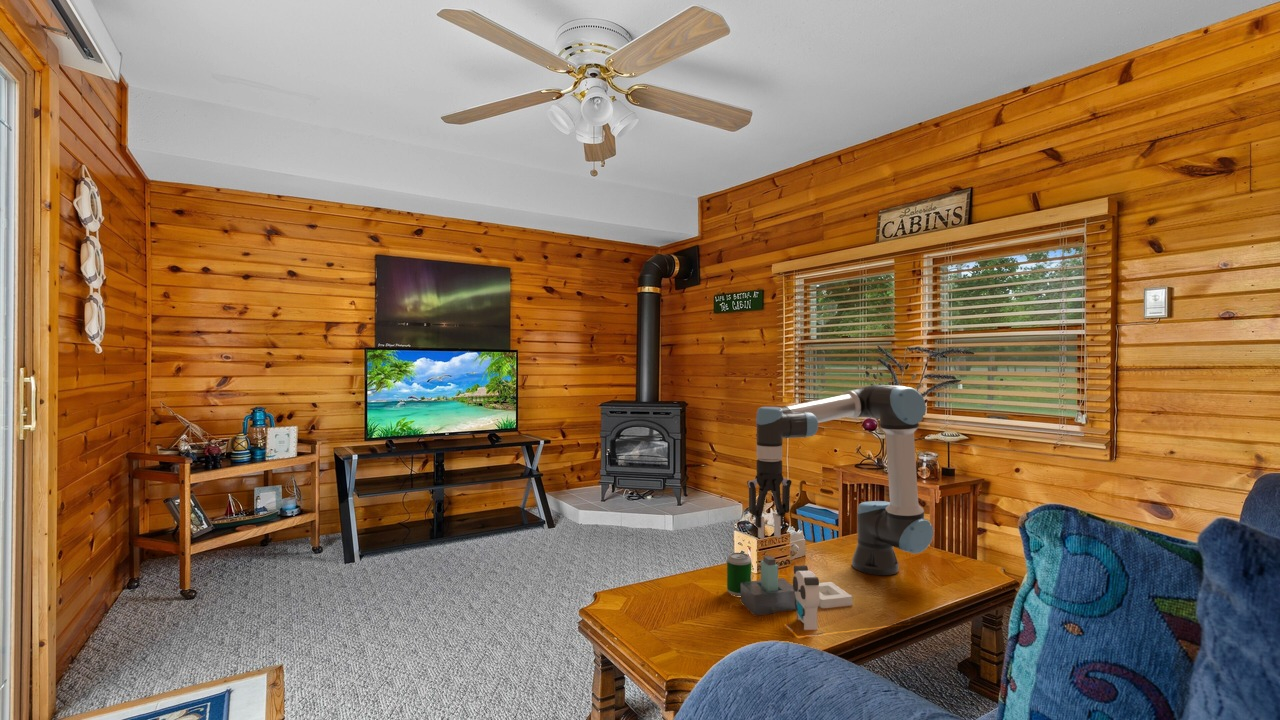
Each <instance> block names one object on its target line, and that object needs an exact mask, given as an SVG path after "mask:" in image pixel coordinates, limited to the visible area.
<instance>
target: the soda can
mask: <svg viewBox="0 0 1280 720" xmlns="http://www.w3.org/2000/svg"><path fill="white" fill-rule="evenodd" d="M748 581H752V558H751V557H750V556H749V555H748V553H743V552H733V553H730V554H729V556H728V557H726V590H727V592H728V594H729V595H730V594H732V595H735V596H741V582H748ZM732 595H731V596H732Z"/></svg>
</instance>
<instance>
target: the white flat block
mask: <svg viewBox="0 0 1280 720" xmlns="http://www.w3.org/2000/svg"><path fill="white" fill-rule="evenodd" d="M853 598H854V597H853V595H851V594H850V593H848V592H846V591H845V590H844V589H843V588H841V587H839V586H838V585H836V584H835V583H834V582H832V581H828V582H827V581H826V582H819V606H818V607H820V608H821V609H830V608H831V609H832V608H839V607H840V608H841V607H848V606H853V605H854V604H853V603H854V601H853Z"/></svg>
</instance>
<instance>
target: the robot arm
mask: <svg viewBox="0 0 1280 720" xmlns="http://www.w3.org/2000/svg"><path fill="white" fill-rule="evenodd" d="M924 398H925V397H923V395H922V394H921V392H919V391H918V390H917V389H915V388H913V387H911V386H910V387H909V386H904V385H890V384H887V385H886V384H872V385H871V384H870V385H868V386H867V385H866V386H862V387H858V388H854V389H850V390H846V391H844V392H843V393H842V394H839V395H834V396H831V397H826V398H820V399H814V400H810V401H805V402H800V403H795V404H790V405H786V406H781V407H779V406H761V407H759V408H757V411H756V416H755V417H756V418H755V424H756V458H757V460H756V475H755V478H754V479H752V480H747V481H746V485H747V488H748V512H749V514H751V515H752V516H754V517H755V519H754V520H755V522H754V523H755V527H756V528H757V538H759V539H760V540H765V516H763V512H764V507H765V503H766V498H767V495H768V492H770V491H771V494H772V497H773V501H774V507H775V511H776V513H774V514H773V515H774V517H773V521H774V522H773V527H774V528H773V532H774V533H773V534H774V535H773V536H774V537H776V538H777V539H781V538H782V536H781V535H782V533H781V529H782V528H781V527H784V517H785V516H786V514H789V513H790V510H791V509H790V504H791V503H790V502H791V501H790V499H791V498H790V497H791V496H790V495H791V494H790V493H791V492H790V491H791V490H790V489H791V486H792V483H793V482H792V480H791V479H790V478H789V479H788V478H784V476H783V460H782V459H783V441H784V440H783V439H795V438H798V439H799V438H808V437H813V436H815V435H816V434H817V432H818V429H819V423H825V422H829V421H834V420H839V419H843V418H849V419H857V418H868V419H876V420H879V428H880V429H881V430H882V431H883V432H884V433H885V446H886V461H887V477H888V491H889V492H888V493H889V501H884V500H883V501H882V500H873V501H872V500H871V501H864V502H861V503H859V504H858V507H857V513H856V519H857V520H856V521H857V523H856V524H857V545H856V547H855V551H854V553H853V556H852V561H851V564H852V567H853V569H855V570H857V571H859V572H861V573H865V574H869V575H875V576H891V575H896V574H897V573H898V572H899V562H898V559H897V554H896V552H895V549H894V548H897V549H899V550H901V551H903V552H907V553H910V554H920V553H922V552H924V551H925V550H927V548H928V547H929V546H930V545H931V543H932V541H933V537H934V528H933V524H932V523H931V522H930V521H929V520H927V519H925V510H924V508H923V507H922V506H920V505H919V495H918V479H917V478H918V477H917V474H918V473H917V461H916V460H917V459H916V445H915V443H916V442H915V432H916V431H917V430H918V429H919V423H920V422H922V421H923V419H924V416H925V415H926V412H927V411H926V410H927V405H926V401H925V399H924ZM757 485H758V486H759V488H758V496H757ZM780 485H782V488H781V490H780ZM781 491H782V493H781ZM780 493H781V494H780Z"/></svg>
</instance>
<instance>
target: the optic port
mask: <svg viewBox="0 0 1280 720" xmlns="http://www.w3.org/2000/svg"><path fill="white" fill-rule="evenodd" d="M795 600H796V596H795V591H794V589H793V584H792V583H790V582H788V581H787V580H786V579H785V578H784V577H781V578H778V591H768V592H766V591H765V590H764V589H763V588H762V587H761V579H760V580H751V581H748V582H741V597H740V603H741V602H742V603H743V604H744V605H745V606H746V607H747V608H748V609H749V610H750V611H751V612H752V613H753V614H754V615H757V616H765V615H774V614H773V613H779V612H780V613H781V612H787V611H797V610H796V608H795ZM742 603H741V604H742ZM743 604H742V605H743ZM744 605H743V606H744ZM745 606H744V607H745ZM746 607H745V608H746ZM747 608H746V609H747ZM748 609H747V610H748ZM749 610H748V611H749ZM750 611H749V612H750ZM751 612H750V613H751ZM752 613H751V614H752ZM753 614H752V615H753ZM763 614H765V615H763ZM754 615H753V616H754Z"/></svg>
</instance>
